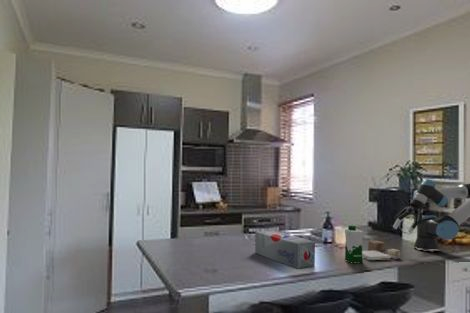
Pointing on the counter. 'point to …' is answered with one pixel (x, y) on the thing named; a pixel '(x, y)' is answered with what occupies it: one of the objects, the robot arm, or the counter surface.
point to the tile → (374, 255)
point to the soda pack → (285, 248)
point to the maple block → (393, 253)
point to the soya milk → (353, 244)
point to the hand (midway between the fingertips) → (401, 230)
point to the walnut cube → (376, 246)
